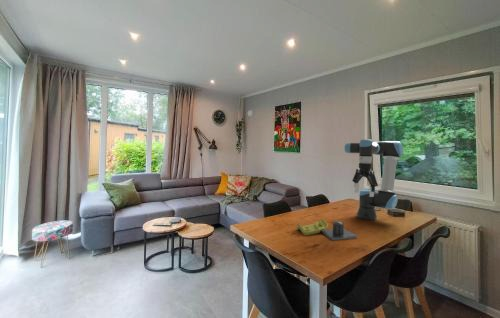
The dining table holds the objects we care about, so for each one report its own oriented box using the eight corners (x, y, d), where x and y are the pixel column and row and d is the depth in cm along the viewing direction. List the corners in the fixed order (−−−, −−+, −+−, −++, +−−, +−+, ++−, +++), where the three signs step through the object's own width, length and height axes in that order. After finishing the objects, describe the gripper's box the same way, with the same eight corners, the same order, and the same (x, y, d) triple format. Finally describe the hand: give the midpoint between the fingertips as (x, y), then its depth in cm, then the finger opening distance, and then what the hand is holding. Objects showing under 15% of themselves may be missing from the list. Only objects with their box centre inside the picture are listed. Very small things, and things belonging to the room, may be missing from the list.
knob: (330, 231, 152) (331, 220, 152) (339, 230, 154) (339, 220, 154) (337, 234, 146) (337, 223, 146) (345, 234, 148) (346, 223, 147)
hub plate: (343, 230, 159) (343, 221, 159) (358, 238, 145) (358, 229, 144) (320, 232, 155) (320, 223, 154) (333, 241, 140) (333, 231, 140)
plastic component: (305, 232, 147) (297, 221, 155) (303, 240, 151) (295, 229, 159) (330, 227, 154) (322, 217, 162) (327, 235, 157) (319, 224, 165)
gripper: (347, 161, 162) (346, 191, 163) (375, 164, 138) (373, 198, 139) (356, 161, 164) (355, 190, 165) (385, 164, 140) (383, 198, 141)
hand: (363, 194), depth 152 cm, fingers open, 13 cm apart
